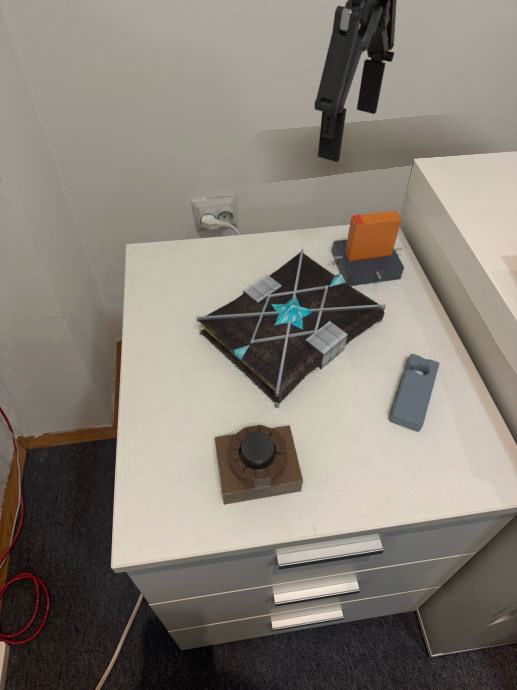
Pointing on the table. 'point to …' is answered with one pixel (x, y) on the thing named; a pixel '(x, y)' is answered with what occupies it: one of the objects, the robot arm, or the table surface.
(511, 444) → the table surface
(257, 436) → the release button
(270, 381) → the book
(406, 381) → the bracket
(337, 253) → the plate
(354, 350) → the table surface
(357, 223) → the orange handle lever
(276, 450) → the block
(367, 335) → the table surface
